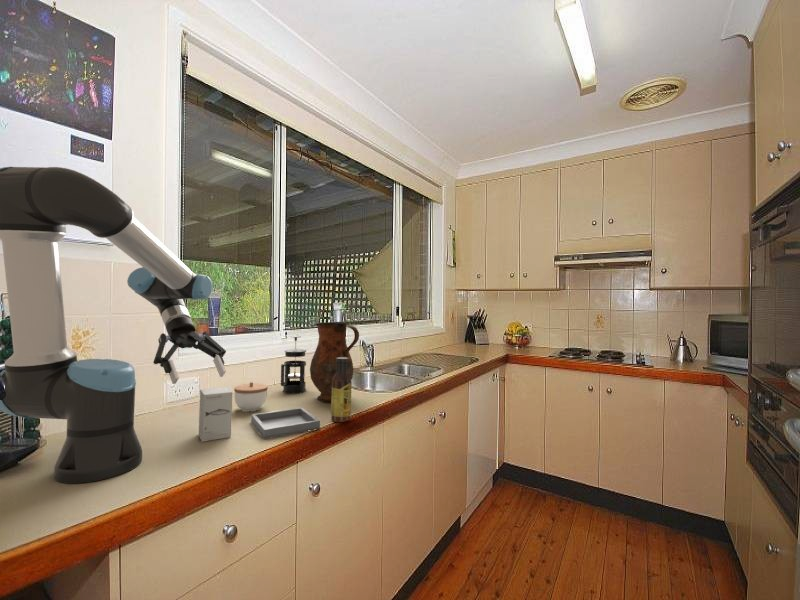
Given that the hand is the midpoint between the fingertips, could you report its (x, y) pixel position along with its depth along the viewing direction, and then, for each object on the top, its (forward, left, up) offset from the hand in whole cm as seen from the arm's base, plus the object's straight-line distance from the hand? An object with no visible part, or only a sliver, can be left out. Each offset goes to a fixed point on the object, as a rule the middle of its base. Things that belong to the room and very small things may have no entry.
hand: (200, 377), depth 110 cm
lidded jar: (+17, +13, -15) cm, 26 cm away
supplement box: (+3, -9, -15) cm, 18 cm away
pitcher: (+47, +10, -15) cm, 50 cm away
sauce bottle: (+39, -13, -15) cm, 44 cm away
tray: (+22, -10, -15) cm, 28 cm away
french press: (+38, +32, -15) cm, 52 cm away
